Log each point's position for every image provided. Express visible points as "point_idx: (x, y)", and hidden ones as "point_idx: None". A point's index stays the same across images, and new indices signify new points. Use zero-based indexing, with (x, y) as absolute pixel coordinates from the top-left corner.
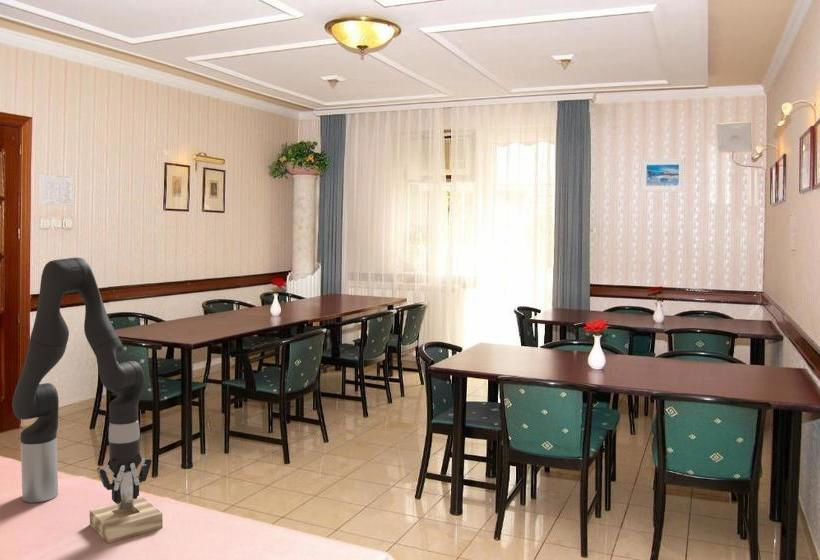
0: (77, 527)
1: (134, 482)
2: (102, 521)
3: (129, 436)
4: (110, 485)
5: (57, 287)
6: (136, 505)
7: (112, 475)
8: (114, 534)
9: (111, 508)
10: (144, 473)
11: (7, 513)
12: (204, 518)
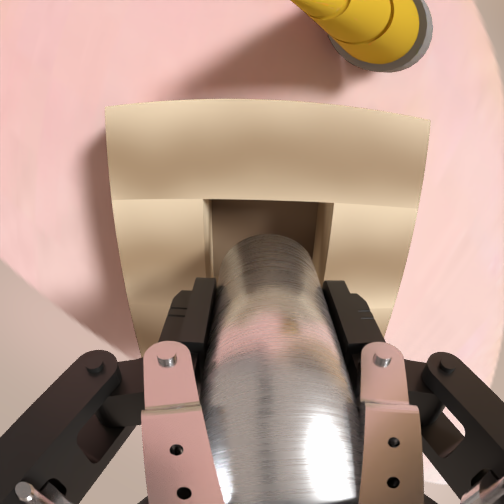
0: (87, 103)
1: None
2: (131, 293)
3: None
4: (124, 435)
5: None
6: (348, 220)
7: (142, 432)
8: None
9: (215, 162)
10: (433, 457)
11: None
12: (467, 332)
